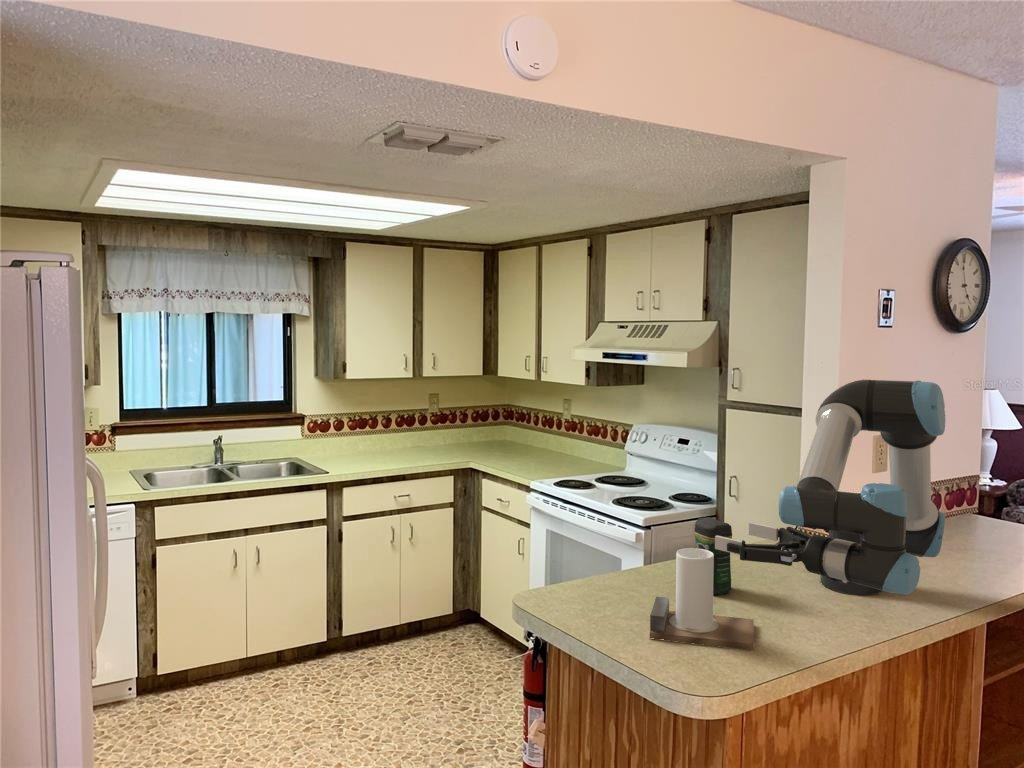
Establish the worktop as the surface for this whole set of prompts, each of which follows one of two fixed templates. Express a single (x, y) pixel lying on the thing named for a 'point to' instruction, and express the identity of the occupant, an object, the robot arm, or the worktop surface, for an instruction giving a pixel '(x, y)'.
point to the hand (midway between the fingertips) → (733, 535)
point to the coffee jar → (715, 550)
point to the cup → (694, 588)
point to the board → (719, 634)
